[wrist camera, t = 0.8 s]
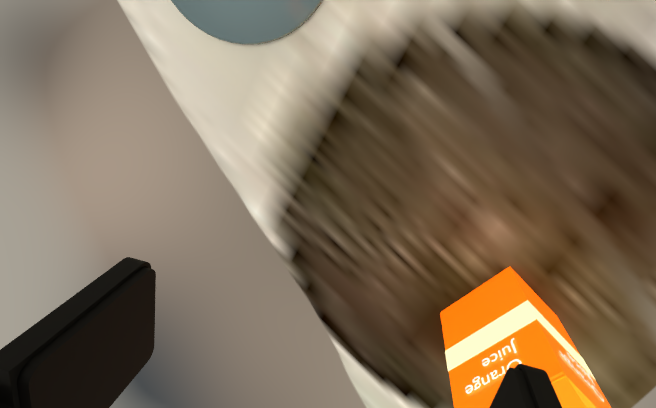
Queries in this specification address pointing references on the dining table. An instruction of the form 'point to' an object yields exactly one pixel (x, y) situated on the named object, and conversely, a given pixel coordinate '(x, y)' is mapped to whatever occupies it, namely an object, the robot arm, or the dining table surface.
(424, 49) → the dining table surface
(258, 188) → the dining table surface
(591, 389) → the orange juice
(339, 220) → the dining table surface
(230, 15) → the dish
